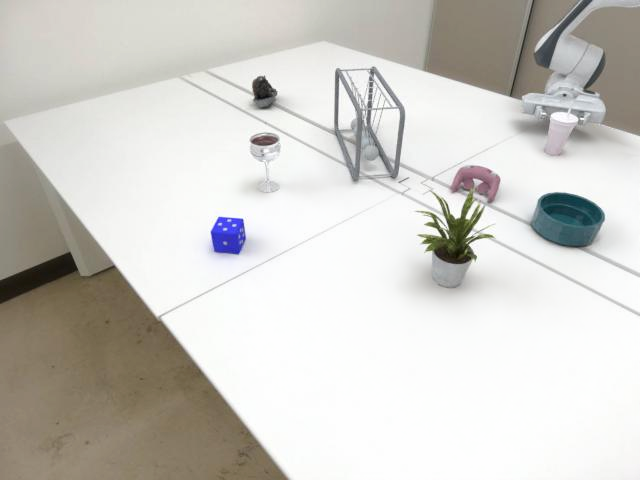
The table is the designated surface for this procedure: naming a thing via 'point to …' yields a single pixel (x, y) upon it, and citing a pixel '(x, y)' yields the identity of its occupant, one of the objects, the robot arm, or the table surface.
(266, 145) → the wineglass
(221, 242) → the die
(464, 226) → the house plant
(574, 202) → the bowl
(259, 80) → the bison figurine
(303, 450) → the table surface
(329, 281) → the table surface
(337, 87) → the newton's cradle
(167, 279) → the table surface
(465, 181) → the video game controller
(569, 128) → the smoothie
